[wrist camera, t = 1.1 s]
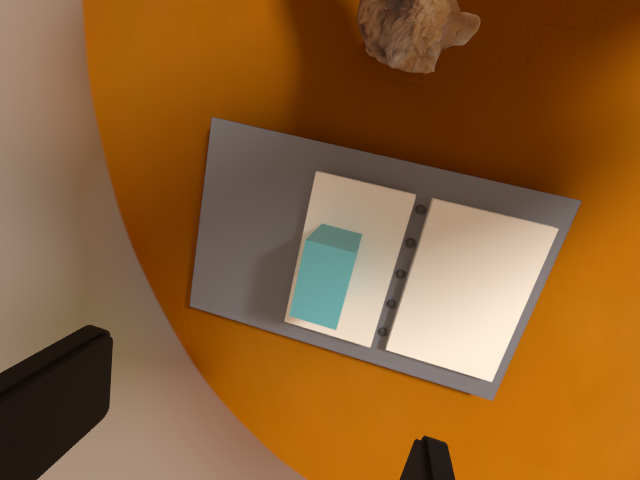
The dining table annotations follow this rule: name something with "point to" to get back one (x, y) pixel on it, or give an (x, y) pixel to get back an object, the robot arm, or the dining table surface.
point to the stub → (347, 256)
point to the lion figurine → (413, 31)
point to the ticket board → (412, 263)
